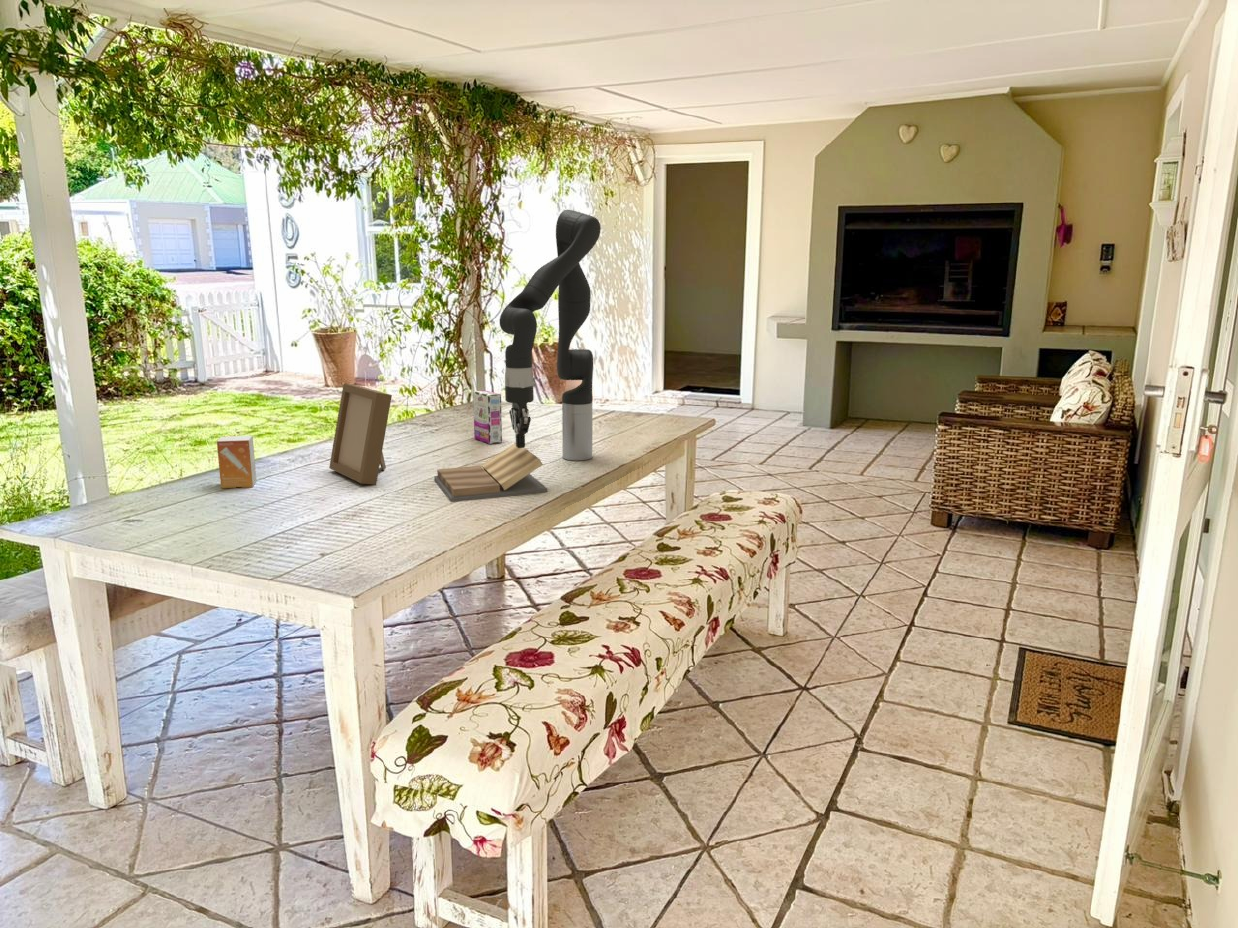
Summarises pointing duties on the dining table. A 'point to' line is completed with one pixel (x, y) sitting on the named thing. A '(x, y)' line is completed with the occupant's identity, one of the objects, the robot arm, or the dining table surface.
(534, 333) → the robot arm
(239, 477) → the small box
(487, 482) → the walnut plank
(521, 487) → the underlay mat
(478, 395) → the candy bar box
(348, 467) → the photo frame
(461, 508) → the dining table surface
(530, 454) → the oak plank
